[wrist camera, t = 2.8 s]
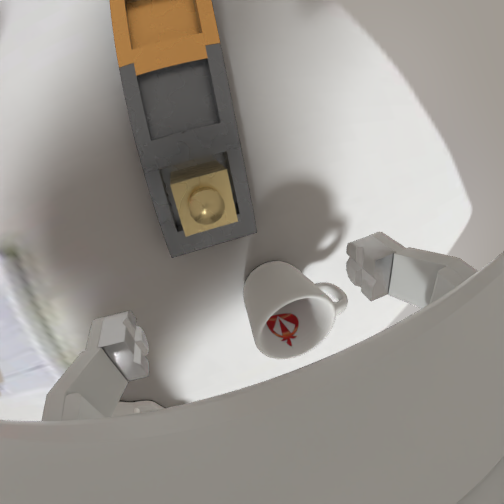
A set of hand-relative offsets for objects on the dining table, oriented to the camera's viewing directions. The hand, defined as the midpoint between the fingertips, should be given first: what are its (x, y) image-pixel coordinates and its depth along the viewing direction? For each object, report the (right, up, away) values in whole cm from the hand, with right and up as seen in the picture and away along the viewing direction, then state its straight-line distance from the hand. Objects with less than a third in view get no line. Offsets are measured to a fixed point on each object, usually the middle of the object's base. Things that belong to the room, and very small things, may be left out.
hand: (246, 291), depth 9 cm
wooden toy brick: (-4, +7, +14) cm, 16 cm away
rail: (-6, +14, +10) cm, 18 cm away
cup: (+3, -2, +22) cm, 22 cm away
